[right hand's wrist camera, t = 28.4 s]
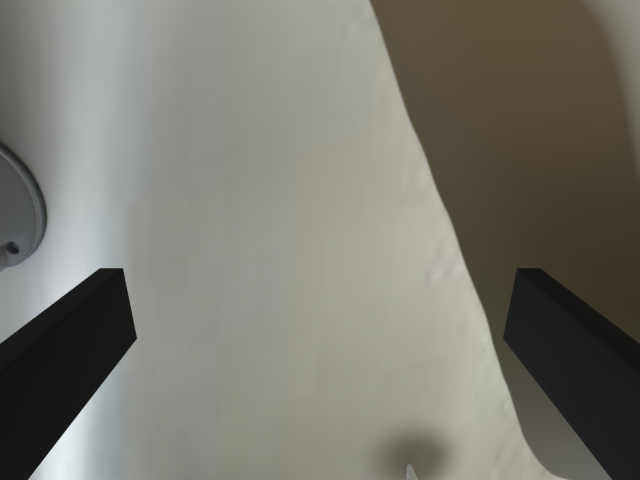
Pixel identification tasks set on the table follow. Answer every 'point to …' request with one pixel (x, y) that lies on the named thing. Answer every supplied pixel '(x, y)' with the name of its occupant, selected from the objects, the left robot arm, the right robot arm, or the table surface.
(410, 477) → the mushroom
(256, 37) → the table surface
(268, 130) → the table surface
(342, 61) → the table surface
